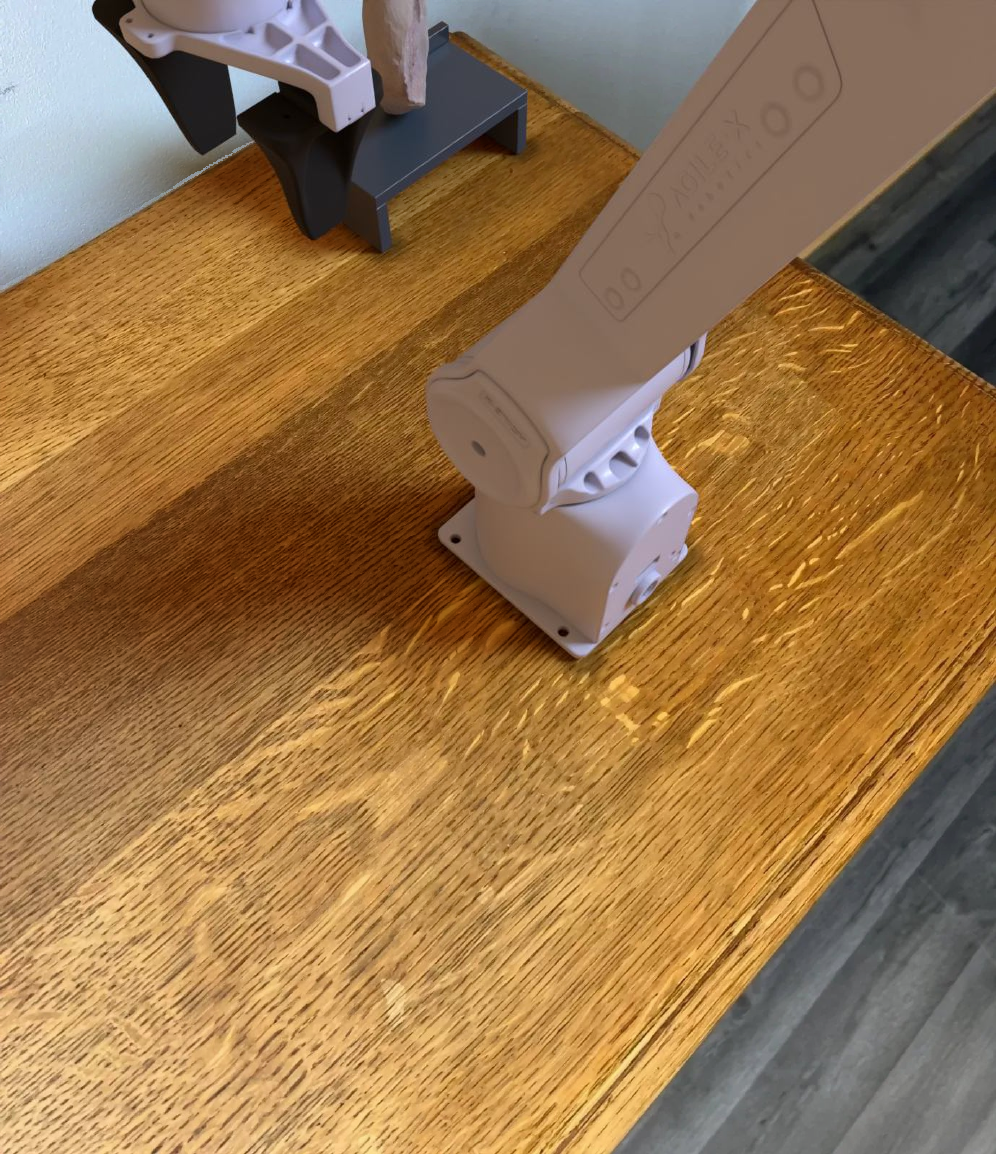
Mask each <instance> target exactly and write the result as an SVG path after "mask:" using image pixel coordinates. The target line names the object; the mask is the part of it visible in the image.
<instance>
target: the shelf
mask: <svg viewBox="0 0 996 1154" xmlns="http://www.w3.org/2000/svg"><path fill="white" fill-rule="evenodd" d="M428 39H429V51H428V57H427V73H426V91H425V94H426V96H425V105H424V106H422V107H421V108H418V109H412V110H410V111H409V112H406V113H404V114H399V115H394V114H388V113H387V112H385V111H384V109H383V108H382V107H381V105H380V104H379V105H378V107H377V109H376V111H375V112H374V114H373V116H372V118H371V120H370V122H369V124H368V126H367V129H366V131H365V133H364V135H363V138H362V140H361V143H360V146H359V149H358V152H357V155H356V159H355V163H354V167H353V172H352V177H351V183H350V190H349V197H348V204H347V211H346V218H345V220H344V221H342V222H341V223H342V224H343V225H344V226H346V227H347V228H349V229H350V230H351V231H352V232H354V234H357V235H358V236H359V237H360V238H362V239H363V240H365V241H366V242H367V243H368V244H370V245H371V246H372V247H374V248H375V249H376V250H377V251H379V252H380V253H381V254H383V253H385V252H386V251H388V250H389V249H390V248H392V247H393V241H392V232H391V224H390V216H389V209H388V208H389V207H388V202H389V201H390V200H392V199H393V198H394V197H396V196H398V195H399V194H401V193H402V192H403V191H404V190H406V189H407V188H409V187H410V186H412V185H413V184H414V183H416V182H417V181H419V180H420V179H422V178H423V177H425V176H426V175H427V174H429V173H430V172H431V171H433V170H434V169H436V168H437V167H438V166H440V165H442V164H443V163H444V162H445V161H447V160H448V159H450V158H451V157H453V156H454V155H456V154H457V153H458V152H460V151H461V150H463V149H464V148H465V147H467V146H469V145H470V144H471V143H472V142H474V141H475V140H476V139H478V138H480V137H481V136H482V135H485V134H486V135H487V136H489V137H490V138H491V139H493V140H495V141H496V142H498V143H499V144H501V145H502V146H503V147H504V148H506V149H508V150H510V151H511V152H512V153H514V154H515V155H519V154H521V153H522V152H523V151H524V150H526V148H527V130H528V129H527V124H528V90H527V89H525V88H524V87H522V86H521V85H519V84H518V83H516V82H515V81H513V80H511V79H510V78H508V77H507V76H505V75H504V74H502V73H501V72H499V71H497V70H496V69H494V68H492V67H491V66H490V65H488V64H487V63H485V62H483V61H482V60H480V59H478V58H477V57H475V56H474V55H473V54H471V53H469V52H468V51H466V50H465V49H463V48H462V47H460V46H458V45H457V44H455V43H454V42H452V41H451V40H450V26H449V24H448V23H446V22H445V21H443V20H441V21H439V22H438V23H436V24H434V25H433V26H431V27H430V28H428Z"/></svg>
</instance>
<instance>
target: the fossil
mask: <svg viewBox="0 0 996 1154" xmlns="http://www.w3.org/2000/svg"><path fill="white" fill-rule="evenodd" d="M427 2H428V1H427V0H362V4H361V5H362V8H361V17H362V18H361V20H362V29H363V30H362V31H363V36H364V42H365V49H366V58H367V59H369V60H370V64H371V67H372V68H374V69H375V70H376V71H378V72H379V73H380V75H381V77H382V83H383V91H384V96H383V98H382V100H381V102H380V105H381V107H382V108H383V109H384V111H385V112H387V113H388V114H394V115H399V114H404V113H406V112H409V111H410V110H412V109H418V108H421V107H422V106H424V105H425V96H426V94H425V91H426V73H427V57H428V51H429V39H428V29H429V25H428V23H429V22H428V3H427Z"/></svg>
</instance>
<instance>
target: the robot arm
mask: <svg viewBox="0 0 996 1154" xmlns="http://www.w3.org/2000/svg"><path fill="white" fill-rule="evenodd" d="M91 12H92V16H93V19H95V20H96V21H97V23H99V24H100V25H101V26H102V27H103V28H104V29H105V30H106V31H107V32H108V33H109V34H110V35H111V36H112V37H113V38H114V39H115V40H116V41H117V42H118V43H119V44H120V45H121V46H122V48H124V50H125V51H126V52H127V53H128V54H129V56H130V57H131V58H132V59H133V61H134V62H135V63H136V65H138V67H139V68H140V70H141V71H142V72H143V73H144V75H145V76H146V78H147V79H148V81H149V82H150V83H151V85H152V87H153V88H154V90H155V91H156V93H157V94H158V96H159V97H160V99H161V101H162V103H163V104H164V105H165V108H166V109H167V111H168V112H169V114H170V116H171V117H172V119H173V120H174V122H175V124H176V125H177V127H178V129H179V130H180V131H181V134H182V135H183V136H184V138H185V139H186V141H187V143H188V145H190V146H191V147H192V150H194V152H197V154H199V155H200V156H201V157H203V156H205V155H207V154H209V152H211V151H213V150H215V149H216V148H218V147H219V146H221V145H222V144H223V143H226V142H227V141H228V140H230V139H231V138H233V137H235V136H237V125H238V126H239V128H240V129H242V130H243V131H244V132H245V133H246V134H247V135H248V136H249V138H250V139H252V141H253V142H254V143H255V145H257V146H258V148H259V149H260V151H261V152H262V153H263V155H264V156H265V158H266V160H267V161H268V163H269V164H270V166H271V168H272V170H273V171H274V173H275V175H276V177H277V179H278V181H279V183H280V186H281V188H282V191H283V195H284V198H285V200H286V203H287V206H288V209H289V211H290V214H291V216H292V219H293V221H294V223H295V225H296V226H297V228H298V229H299V231H300V232H301V234H302V235H304V237H306V238H307V239H308V240H309V241H312V242H316V241H317V240H318V239H320V238H321V237H323V236H324V235H325V234H327V233H328V232H329V231H331V230H333V229H334V228H336V227H337V226H338V225H340V224H341V223H342V221H344V220H345V218H346V211H347V204H348V197H349V190H350V183H351V177H352V172H353V167H354V163H355V159H356V155H357V152H358V149H359V146H360V143H361V140H362V138H363V135H364V133H365V131H366V129H367V126H368V124H369V122H370V120H371V118H372V116H373V114H374V112H375V111H376V109H377V107H378V105H379V104H380V102H381V100H382V98H383V96H384V91H383V83H382V77H381V75H380V73H379V72H378V71H376V70H375V69H374V68H372V67H371V64H370V60H369V59H367V56H365V55H364V54H362V53H361V52H359V51H358V50H357V49H356V48H355V47H354V46H352V45H351V43H350V42H349V41H348V40H347V38H346V37H345V36H344V35H343V33H342V32H341V31H340V29H339V27H338V25H337V24H336V23H335V21H334V19H333V18H332V17H331V15H330V13H329V12H328V10H327V9H326V7H325V5H324V3H322V1H321V0H94V1H93V3H92V5H91ZM229 67H232V68H235V69H238V70H242V71H245V72H249V73H251V74H256V75H258V76H260V77H261V76H262V77H264V78H268V79H271V80H274V81H276V82H277V85H278V90H279V91H278V92H277V91H274V92H272V93H270V94H269V95H267V96H266V97H264V98H263V99H261V100H259V101H257V102H256V103H255V104H253V105H251V106H249V107H248V108H247V109H245V110H244V111H242V112H240V113H238V114H237V112H236V104H235V98H234V92H233V86H232V81H231V76H230V75H231V74H230V70H229ZM995 90H996V0H756V1H755V2H754V3H753V5H752V6H751V7H750V9H749V10H748V12H747V13H746V14H745V15H744V17H743V18H742V20H741V21H740V22H739V24H737V27H736V28H735V29H734V31H733V32H732V33H731V34H730V35H729V37H728V39H727V40H726V41H725V43H724V44H723V46H722V47H721V48H720V49H719V51H718V52H717V53H716V55H715V56H714V58H713V59H712V60H711V61H710V63H709V65H708V66H707V67H706V68H705V70H704V71H703V72H702V74H701V75H700V76H699V78H698V80H697V81H696V82H695V83H694V85H693V86H692V88H691V89H690V90H689V92H688V93H687V95H686V96H685V97H684V99H683V100H682V101H681V102H680V104H679V105H678V107H677V108H676V109H675V111H674V112H673V113H672V114H671V116H670V117H669V119H668V120H667V121H666V123H665V124H664V126H663V127H662V128H661V129H660V131H659V132H658V133H657V135H656V137H655V138H654V139H653V141H652V142H651V143H650V145H649V146H648V147H647V149H646V150H645V151H644V153H643V154H642V156H641V157H639V160H638V161H637V162H636V163H635V165H634V166H633V168H632V169H631V170H630V172H629V173H628V175H626V178H625V179H624V180H623V181H622V183H621V184H620V186H618V188H617V190H616V191H615V192H614V194H613V195H612V196H611V198H610V199H609V200H608V201H607V202H606V205H605V206H604V207H603V209H602V210H601V211H600V213H599V214H598V216H597V217H596V218H595V219H594V221H593V222H592V224H591V225H590V226H589V227H588V229H587V230H586V232H585V233H584V235H582V237H581V239H580V240H579V241H578V242H577V244H576V245H575V247H574V248H573V249H572V251H571V252H570V254H569V255H568V256H567V257H566V259H565V260H564V262H563V263H562V264H561V266H560V267H559V269H558V270H557V271H556V273H555V274H554V275H553V277H552V278H551V279H550V280H549V282H548V283H547V284H546V286H544V287H543V289H541V290H540V291H539V292H538V293H537V294H536V295H534V296H533V297H532V298H531V299H530V300H528V301H527V302H525V303H524V304H523V305H522V306H520V307H519V308H518V309H517V310H516V311H514V312H513V313H512V314H510V315H509V316H508V317H507V318H506V319H504V320H503V321H502V322H500V323H499V324H498V325H497V326H495V328H493V329H491V330H490V331H489V332H488V333H486V334H485V335H484V336H483V337H482V338H481V339H479V340H478V341H477V342H475V343H474V344H473V345H472V346H470V347H469V348H468V349H467V350H466V351H464V352H463V353H462V354H461V355H459V356H458V357H457V358H456V359H455V360H453V361H452V362H444V363H442V364H441V365H440V366H439V367H437V368H436V369H435V370H433V371H432V372H431V373H430V375H428V378H427V379H426V382H425V385H424V389H425V390H424V392H425V393H424V395H425V397H424V398H425V403H426V405H425V406H426V407H425V409H426V410H425V411H426V414H427V416H426V417H427V420H428V423H429V427H430V429H431V432H432V433H433V435H434V437H435V439H436V441H437V443H438V445H439V446H440V448H441V450H442V451H443V453H444V454H445V456H446V457H447V459H448V460H449V461H450V462H451V464H452V465H453V466H454V467H455V468H456V470H457V471H458V472H459V473H460V474H461V476H463V477H464V478H465V480H467V481H468V483H470V484H471V486H473V487H474V498H472V499H471V500H470V501H468V502H467V503H466V504H465V505H464V506H463V507H461V509H460V510H458V511H457V512H456V513H455V514H454V515H453V516H452V517H450V518H449V519H448V520H447V521H446V522H445V523H443V524H442V525H441V526H440V528H439V529H438V532H437V536H438V540H439V541H440V543H441V544H442V545H443V546H445V547H446V548H447V549H448V550H449V551H450V552H451V553H452V554H454V555H455V556H456V557H457V558H458V559H459V560H461V561H462V562H463V564H465V565H466V566H468V567H469V568H470V569H471V570H472V571H473V572H474V573H476V574H477V575H478V577H480V578H481V579H483V580H484V581H485V583H487V584H488V585H490V586H491V587H492V588H493V589H494V590H495V591H497V593H499V594H500V595H501V596H502V597H504V599H506V600H507V602H509V603H510V604H512V606H514V607H515V608H516V609H517V610H518V611H520V613H521V614H523V615H524V616H526V618H527V619H528V620H530V621H531V622H532V623H533V624H534V625H535V626H536V627H538V629H540V630H541V631H542V632H544V633H545V634H546V635H547V636H548V637H550V639H552V640H553V641H554V642H555V643H556V644H558V645H559V646H560V647H561V648H563V650H565V651H566V652H567V654H569V655H570V656H572V657H573V658H575V659H578V660H579V659H584V658H586V657H587V656H589V655H590V653H592V651H594V649H595V648H597V646H598V645H599V644H601V643H602V642H603V640H604V639H605V638H606V637H607V636H609V635H610V634H611V633H612V631H614V630H615V628H616V627H618V626H619V625H620V624H621V623H622V622H623V620H624V619H625V618H626V617H627V616H628V615H629V614H631V613H632V611H633V610H635V609H636V608H637V607H638V606H641V605H642V604H643V603H644V602H645V601H646V600H647V599H648V598H649V597H650V596H651V595H652V593H653V592H654V591H655V590H656V588H658V585H660V583H662V581H664V579H665V578H667V576H669V575H670V573H671V572H672V571H673V570H675V568H676V567H677V566H678V565H679V564H680V563H682V561H683V560H684V559H686V557H687V555H688V552H689V551H688V549H689V548H688V546H687V543H685V541H686V539H687V536H688V533H689V531H690V528H691V525H692V522H693V519H694V516H695V513H696V510H697V508H698V503H699V495H698V492H697V491H696V490H695V489H694V487H692V486H691V485H690V484H689V483H688V482H687V481H685V479H683V478H682V476H680V475H679V474H678V473H677V472H676V471H675V470H674V468H673V467H672V466H671V464H669V462H668V461H667V460H666V459H665V458H664V457H665V456H663V454H662V453H661V451H660V449H659V447H658V445H657V444H656V442H655V440H654V438H653V435H652V429H653V420H654V415H655V413H657V411H658V410H659V409H660V406H661V403H662V398H663V395H664V394H665V393H666V392H667V391H669V390H670V389H671V388H672V387H673V386H674V385H675V384H676V383H681V382H682V381H684V380H685V379H686V378H687V377H689V375H691V374H692V373H694V372H695V371H696V369H697V368H698V366H699V365H700V363H701V361H702V358H703V356H704V353H705V347H706V340H707V335H708V332H709V331H711V330H712V328H714V327H715V326H717V325H718V324H719V323H720V322H721V321H722V320H723V319H724V318H726V317H727V316H728V315H730V314H731V313H732V312H733V311H734V310H735V309H736V308H737V307H738V306H740V305H742V303H743V302H744V301H746V300H747V299H748V298H750V297H751V296H752V295H753V294H754V293H755V292H756V291H757V290H759V289H760V288H761V287H763V286H764V285H765V284H766V283H767V282H768V281H769V280H771V279H772V278H773V277H774V276H776V275H777V274H778V273H779V272H780V271H782V269H784V268H785V267H786V266H787V265H789V264H790V263H791V262H792V261H793V260H795V259H796V258H797V257H798V256H799V255H800V254H802V252H804V251H805V250H807V248H809V247H810V246H811V245H812V244H813V243H815V242H816V241H817V240H818V239H819V238H820V237H822V236H823V235H824V234H825V233H826V232H828V231H829V230H830V229H831V228H832V227H834V226H835V225H836V224H837V223H838V222H840V221H841V220H842V219H843V218H844V217H845V216H847V215H848V214H849V213H851V211H853V209H855V208H856V207H857V206H859V205H860V204H861V203H862V202H863V201H864V200H865V199H867V198H868V197H869V196H870V195H872V194H873V193H874V192H875V191H877V189H879V188H880V187H881V186H883V184H884V183H885V182H887V181H888V180H889V179H890V178H892V177H893V176H894V175H895V174H896V173H898V172H899V171H900V170H901V169H902V168H903V167H905V166H906V165H907V164H908V163H909V162H911V161H912V160H913V159H914V158H916V157H917V156H918V155H919V154H921V152H923V151H924V150H925V149H926V148H928V146H930V145H931V144H932V143H934V141H935V140H937V139H938V138H939V137H940V136H941V135H943V134H944V133H945V132H946V131H948V129H950V128H951V127H952V126H954V124H956V123H957V122H958V121H960V119H961V118H963V117H964V116H965V115H966V114H968V113H969V112H970V111H971V110H972V109H974V108H975V107H976V106H977V105H978V104H980V102H982V101H983V100H984V99H985V98H986V97H987V96H990V94H991V93H993V92H994V91H995ZM454 539H458V540H460V541H459V542H457V543H454V542H453V541H452V540H454ZM561 631H565V632H567V633H568V634H567V635H566V636H561V635H560V634H559V632H561Z"/></svg>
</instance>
